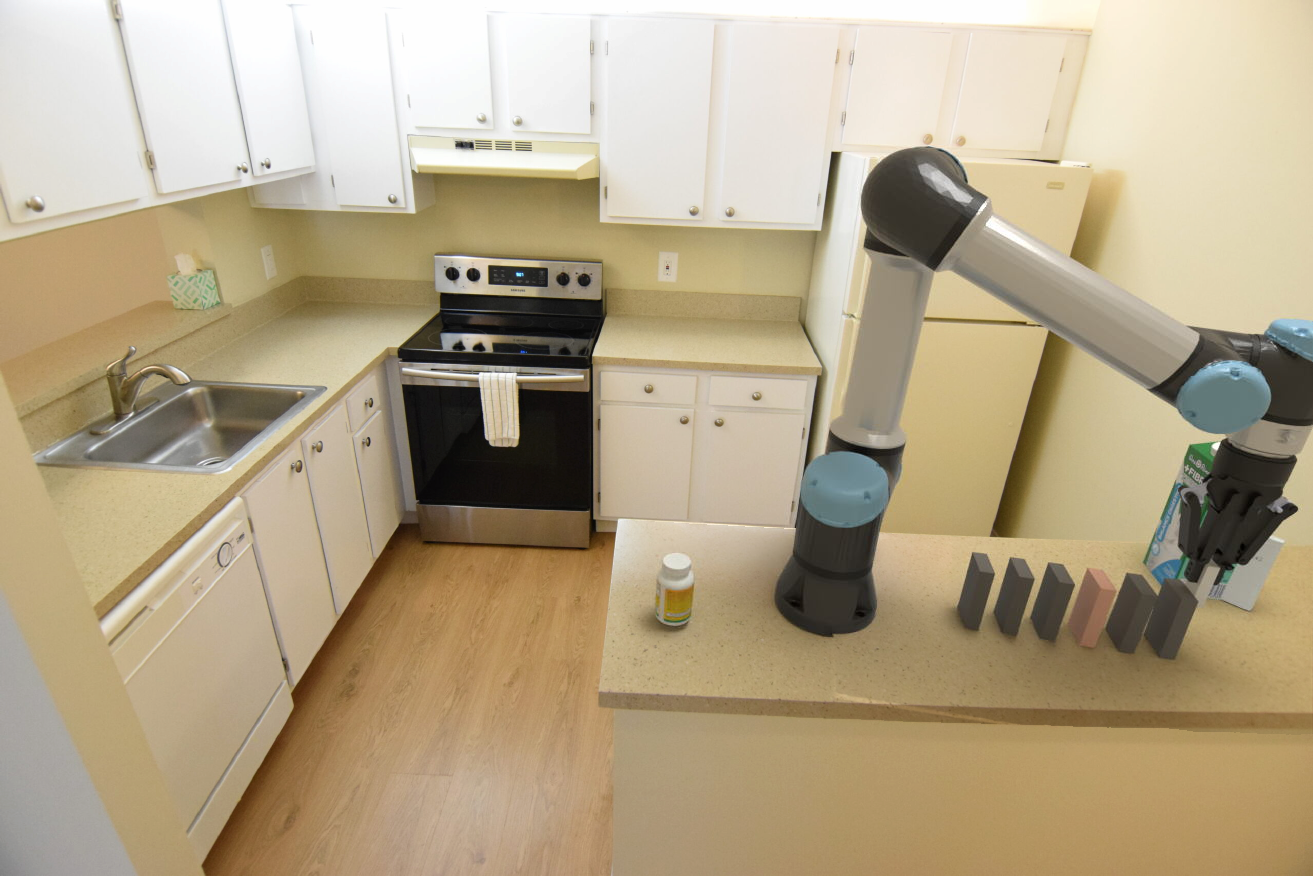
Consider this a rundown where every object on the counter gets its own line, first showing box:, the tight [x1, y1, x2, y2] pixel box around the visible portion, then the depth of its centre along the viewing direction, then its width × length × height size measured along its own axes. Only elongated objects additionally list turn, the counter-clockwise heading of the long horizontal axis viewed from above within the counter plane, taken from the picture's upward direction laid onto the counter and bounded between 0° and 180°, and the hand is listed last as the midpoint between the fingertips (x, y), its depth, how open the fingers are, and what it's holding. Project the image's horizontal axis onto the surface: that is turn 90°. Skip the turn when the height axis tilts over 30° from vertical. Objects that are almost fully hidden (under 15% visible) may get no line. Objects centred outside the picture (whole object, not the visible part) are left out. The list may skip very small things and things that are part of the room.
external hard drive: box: [1220, 534, 1286, 612], centre depth 107 cm, size 2×8×12 cm, turn 39°
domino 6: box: [1143, 578, 1199, 660], centre depth 97 cm, size 2×5×10 cm, turn 169°
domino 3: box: [1029, 561, 1076, 643], centre depth 99 cm, size 2×5×10 cm, turn 169°
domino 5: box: [1104, 572, 1158, 655], centre depth 98 cm, size 2×5×10 cm, turn 169°
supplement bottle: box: [654, 552, 695, 627], centre depth 99 cm, size 5×5×10 cm
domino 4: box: [1067, 567, 1117, 648], centre depth 98 cm, size 2×5×10 cm, turn 169°
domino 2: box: [993, 556, 1036, 637], centre depth 100 cm, size 2×5×10 cm, turn 169°
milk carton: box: [1142, 440, 1286, 601], centre depth 108 cm, size 9×9×25 cm
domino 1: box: [957, 551, 996, 631], centre depth 101 cm, size 2×5×10 cm, turn 169°
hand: (1191, 600), depth 95 cm, fingers closed
